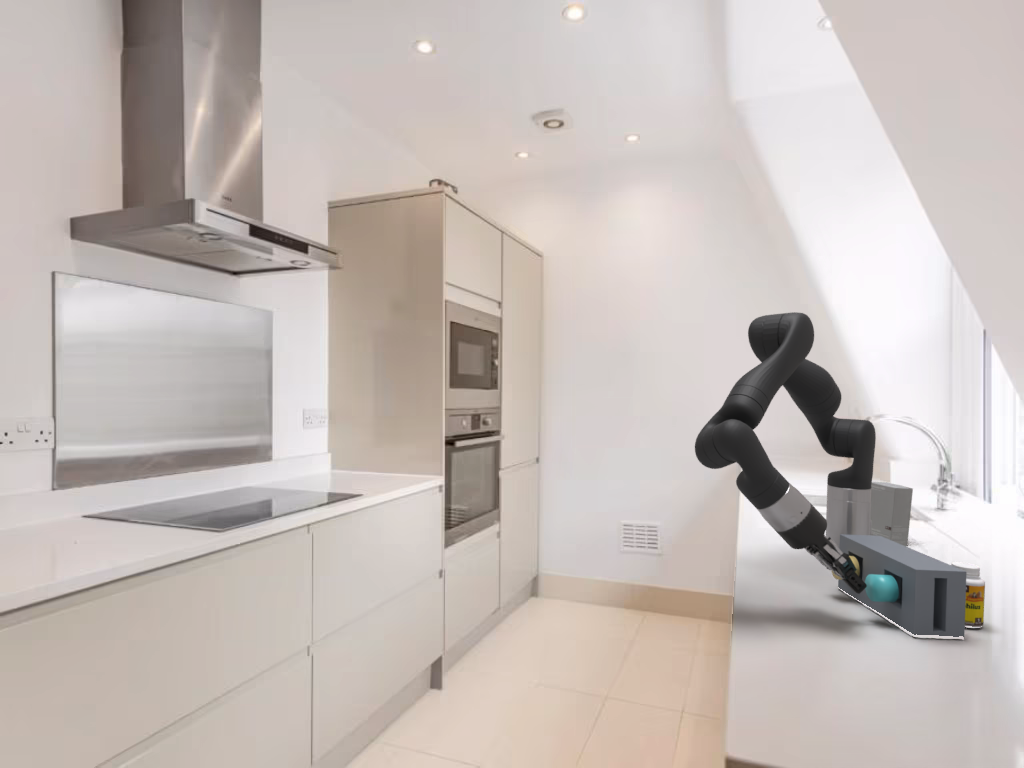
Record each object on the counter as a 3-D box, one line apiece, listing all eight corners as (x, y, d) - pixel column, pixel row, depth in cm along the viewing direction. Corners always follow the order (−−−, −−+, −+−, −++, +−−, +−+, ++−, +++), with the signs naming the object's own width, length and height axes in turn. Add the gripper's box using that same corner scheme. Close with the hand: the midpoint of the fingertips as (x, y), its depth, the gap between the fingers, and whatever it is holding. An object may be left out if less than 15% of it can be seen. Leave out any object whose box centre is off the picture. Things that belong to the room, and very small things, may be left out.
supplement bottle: (945, 625, 105) (947, 565, 105) (941, 615, 110) (943, 558, 110) (986, 633, 103) (988, 571, 103) (980, 622, 107) (982, 563, 108)
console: (913, 638, 99) (916, 569, 99) (837, 589, 123) (839, 534, 123) (964, 640, 99) (966, 571, 99) (878, 591, 123) (880, 535, 123)
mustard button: (841, 582, 115) (842, 558, 115) (830, 575, 120) (831, 552, 120) (859, 583, 115) (860, 559, 115) (847, 576, 120) (847, 553, 120)
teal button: (878, 605, 103) (879, 578, 103) (864, 596, 108) (865, 571, 108) (898, 606, 103) (899, 579, 103) (883, 597, 108) (883, 571, 108)
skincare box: (863, 539, 168) (865, 481, 168) (883, 538, 170) (885, 481, 170) (890, 547, 160) (892, 486, 160) (911, 546, 162) (913, 486, 162)
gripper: (825, 507, 99) (900, 586, 99) (790, 492, 112) (856, 562, 112) (791, 539, 99) (865, 618, 99) (759, 521, 113) (825, 591, 112)
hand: (860, 588), depth 106 cm, fingers closed
